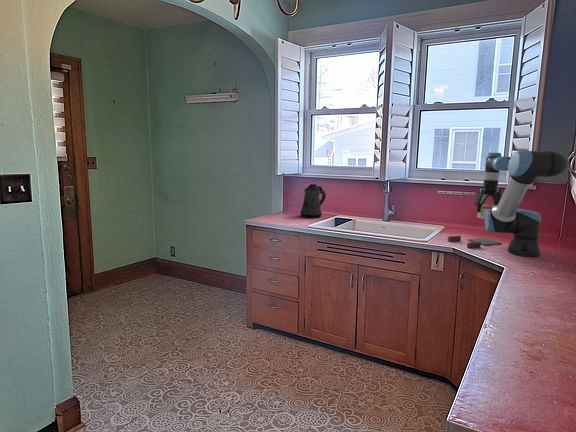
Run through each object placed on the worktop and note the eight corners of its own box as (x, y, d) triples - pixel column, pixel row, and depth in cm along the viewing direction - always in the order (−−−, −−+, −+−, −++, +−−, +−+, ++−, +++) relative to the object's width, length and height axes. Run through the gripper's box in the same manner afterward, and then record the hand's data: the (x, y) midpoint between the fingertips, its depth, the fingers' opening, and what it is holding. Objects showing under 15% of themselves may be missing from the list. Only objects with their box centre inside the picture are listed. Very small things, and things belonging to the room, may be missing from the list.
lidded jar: (492, 217, 238) (494, 202, 236) (500, 220, 227) (502, 204, 225) (474, 216, 239) (475, 201, 237) (480, 220, 228) (482, 204, 226)
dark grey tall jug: (296, 216, 307) (296, 184, 303) (310, 213, 323) (311, 182, 318) (314, 219, 298) (315, 186, 293) (327, 216, 313) (328, 184, 308)
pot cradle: (480, 247, 223) (480, 242, 222) (468, 248, 220) (469, 243, 220) (458, 240, 239) (459, 235, 238) (447, 241, 236) (448, 236, 236)
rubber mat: (501, 244, 231) (502, 243, 231) (484, 245, 227) (484, 244, 227) (484, 239, 243) (484, 237, 243) (467, 240, 239) (467, 239, 239)
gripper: (501, 178, 236) (497, 215, 240) (470, 179, 229) (466, 216, 233) (512, 179, 229) (507, 217, 233) (480, 180, 222) (476, 219, 226)
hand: (487, 217), depth 233 cm, fingers closed on lidded jar, 11 cm apart
